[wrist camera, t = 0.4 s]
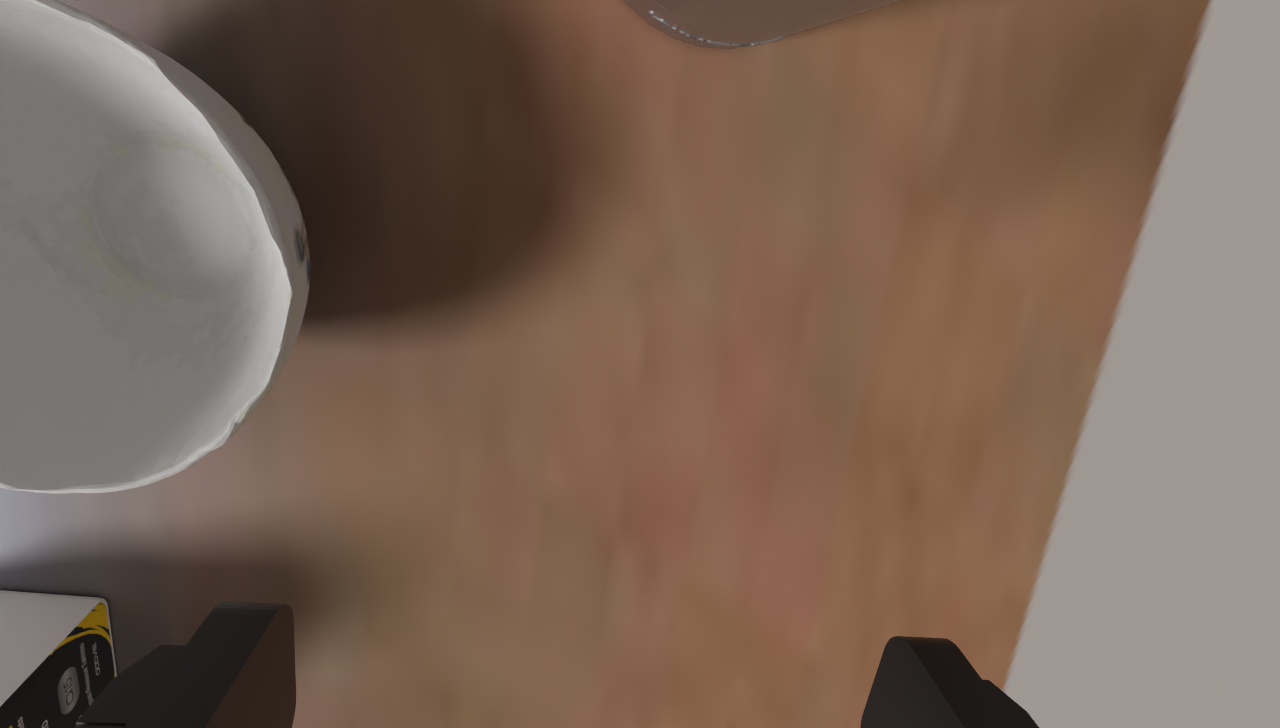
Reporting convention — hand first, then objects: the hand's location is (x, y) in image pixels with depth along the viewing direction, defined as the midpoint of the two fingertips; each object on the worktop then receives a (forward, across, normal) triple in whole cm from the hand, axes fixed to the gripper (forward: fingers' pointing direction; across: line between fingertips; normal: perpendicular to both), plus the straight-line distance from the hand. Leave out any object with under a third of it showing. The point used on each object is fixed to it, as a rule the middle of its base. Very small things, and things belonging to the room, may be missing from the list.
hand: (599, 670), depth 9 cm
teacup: (+18, +15, -2) cm, 23 cm away
